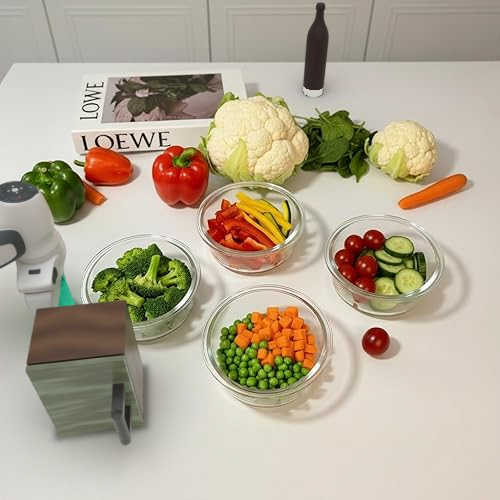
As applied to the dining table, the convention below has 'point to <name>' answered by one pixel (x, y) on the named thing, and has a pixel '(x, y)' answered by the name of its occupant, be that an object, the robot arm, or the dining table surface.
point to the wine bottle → (316, 51)
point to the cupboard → (87, 337)
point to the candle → (65, 294)
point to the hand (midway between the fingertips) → (59, 299)
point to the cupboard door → (88, 396)
